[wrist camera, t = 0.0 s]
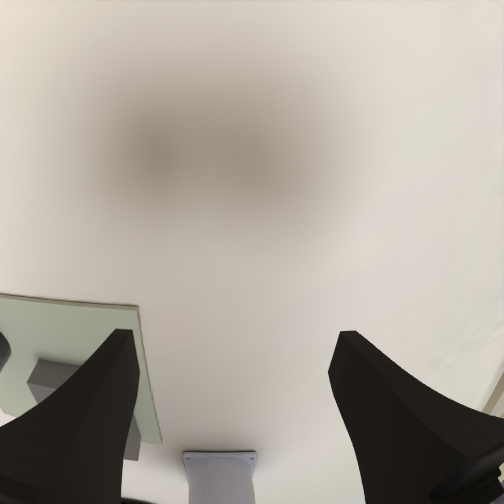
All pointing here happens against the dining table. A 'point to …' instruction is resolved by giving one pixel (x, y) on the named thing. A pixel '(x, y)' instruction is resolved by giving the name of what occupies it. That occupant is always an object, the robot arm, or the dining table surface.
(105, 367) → the robot arm
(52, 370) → the camera body
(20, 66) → the dining table surface
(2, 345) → the lens
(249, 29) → the dining table surface
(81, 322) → the mat
